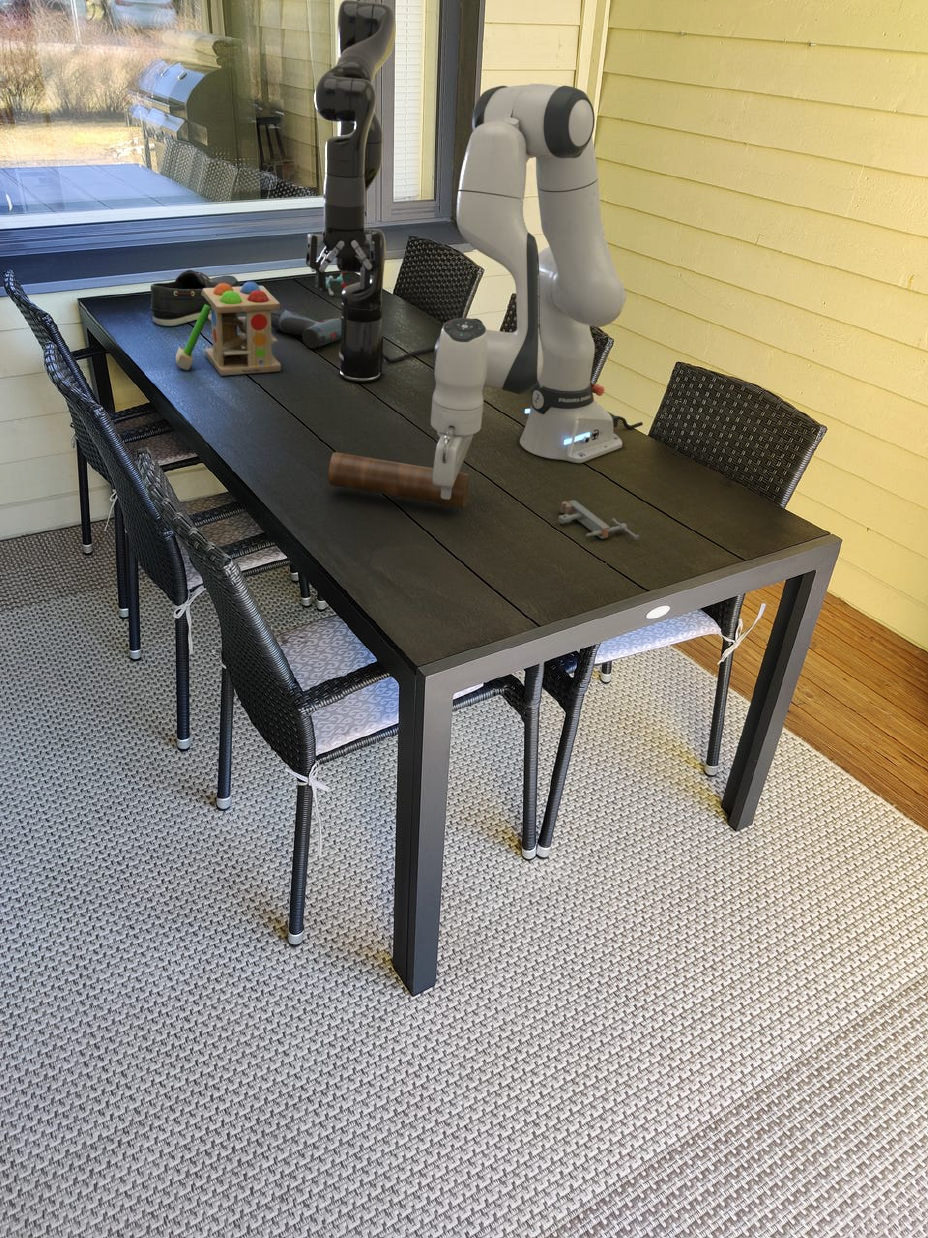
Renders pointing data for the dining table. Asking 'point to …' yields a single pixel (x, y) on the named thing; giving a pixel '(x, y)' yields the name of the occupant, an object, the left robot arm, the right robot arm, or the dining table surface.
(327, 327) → the power drill
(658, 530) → the dining table surface
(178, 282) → the boat shoe
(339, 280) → the molecular model
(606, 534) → the clamp
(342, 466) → the rod
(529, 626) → the dining table surface
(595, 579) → the dining table surface
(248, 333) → the pounding bench toy
